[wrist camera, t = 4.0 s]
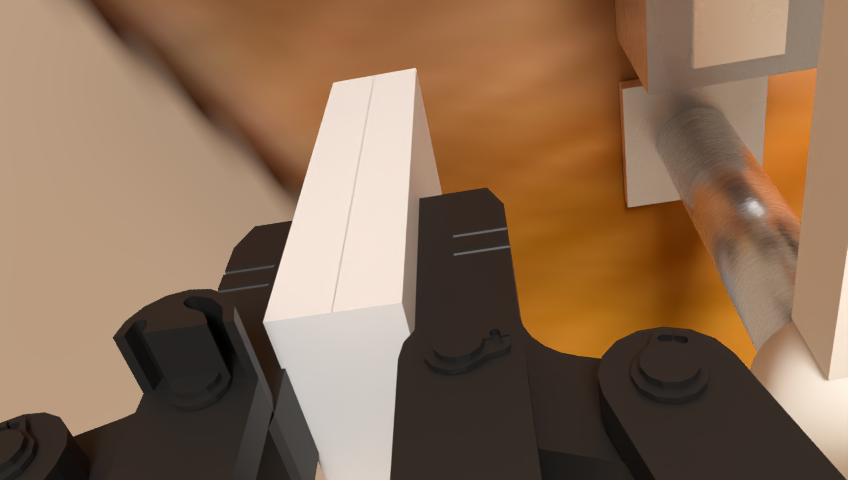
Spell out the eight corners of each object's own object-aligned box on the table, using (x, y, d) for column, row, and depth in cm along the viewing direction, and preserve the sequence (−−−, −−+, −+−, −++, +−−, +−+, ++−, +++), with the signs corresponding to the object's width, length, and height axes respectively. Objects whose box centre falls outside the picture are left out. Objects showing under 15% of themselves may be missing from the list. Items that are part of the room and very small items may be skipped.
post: (618, 81, 33) (720, 289, 21) (762, 58, 32) (954, 258, 20) (624, 198, 36) (714, 436, 24) (754, 179, 35) (915, 414, 23)
